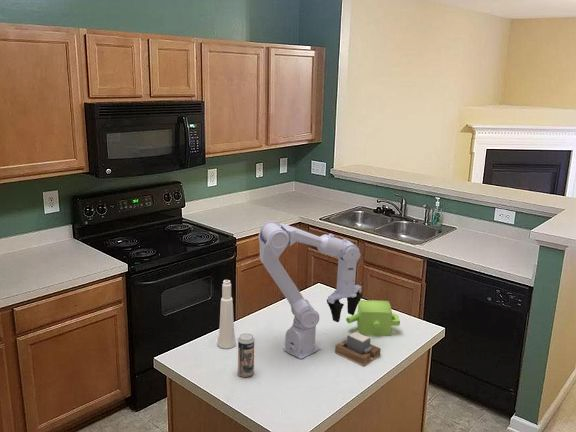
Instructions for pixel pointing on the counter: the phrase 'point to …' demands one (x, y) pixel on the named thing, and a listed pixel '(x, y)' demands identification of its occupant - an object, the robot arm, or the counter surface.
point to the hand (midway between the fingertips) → (343, 317)
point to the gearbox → (374, 318)
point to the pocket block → (357, 354)
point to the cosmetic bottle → (226, 318)
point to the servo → (358, 343)
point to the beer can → (246, 355)
